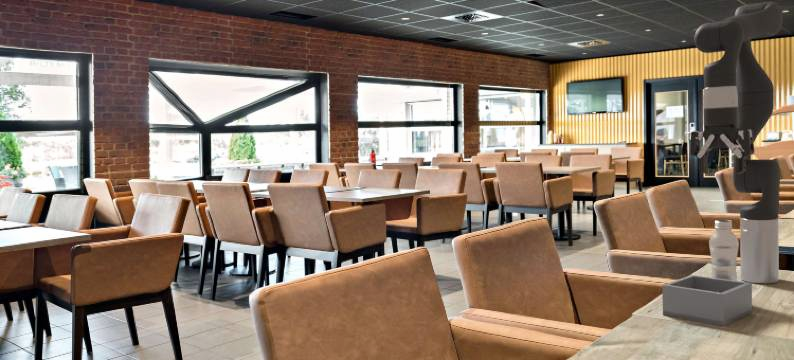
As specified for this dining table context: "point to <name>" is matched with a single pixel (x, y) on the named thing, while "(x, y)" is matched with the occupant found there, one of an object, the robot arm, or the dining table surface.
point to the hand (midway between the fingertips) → (721, 173)
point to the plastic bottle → (724, 251)
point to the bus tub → (707, 299)
